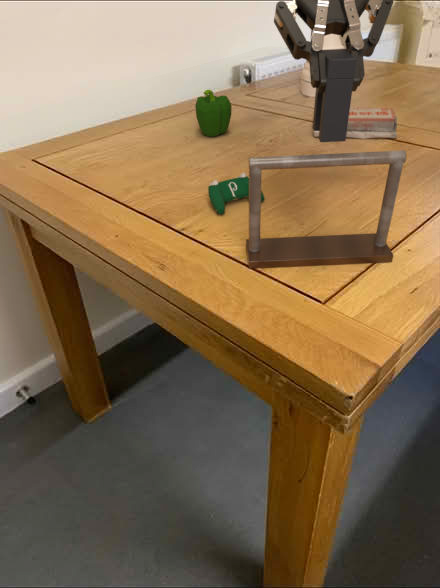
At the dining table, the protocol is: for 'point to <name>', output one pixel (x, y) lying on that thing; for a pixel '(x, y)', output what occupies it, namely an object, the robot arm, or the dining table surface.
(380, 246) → the rail stand
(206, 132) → the bell pepper
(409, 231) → the dining table surface
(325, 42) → the honey pot
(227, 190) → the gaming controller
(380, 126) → the packaged product
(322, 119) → the clip
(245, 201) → the dining table surface
